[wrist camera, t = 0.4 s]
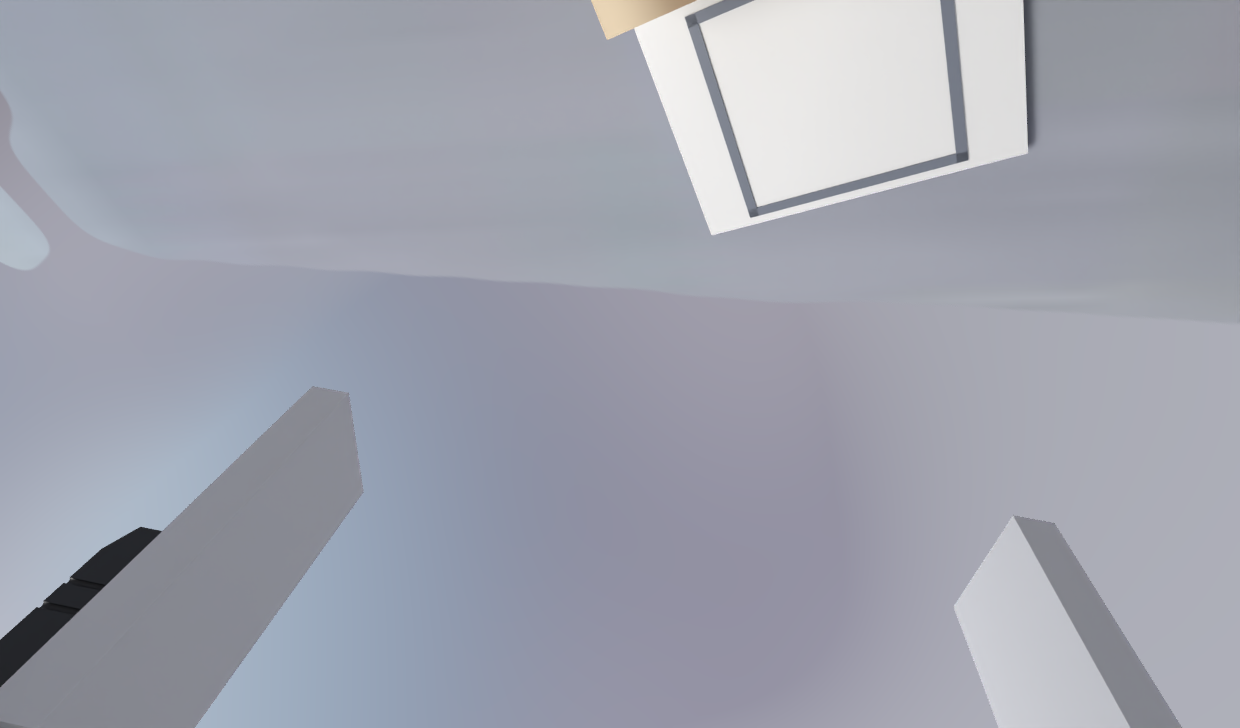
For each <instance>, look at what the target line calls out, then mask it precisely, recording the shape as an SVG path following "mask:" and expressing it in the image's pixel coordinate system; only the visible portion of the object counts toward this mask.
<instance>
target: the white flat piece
mask: <svg viewBox="0 0 1240 728" xmlns="http://www.w3.org/2000/svg"><path fill="white" fill-rule="evenodd" d="M634 29H635V32H636V35H637V37H638V40H639V43H640V45H641V48H642V51H643V53H644V56H645V59H646V61H647V64H648V67H649V69H650V72H651V75H652V77H653V80H654V83H655V85H656V88H657V91H658V93H659V96H660V99H661V101H662V104H663V107H664V109H665V112H666V115H667V117H668V120H669V123H670V125H671V128H672V131H673V133H674V136H675V139H676V141H677V144H678V147H679V149H680V152H681V155H682V157H683V160H684V163H685V165H686V168H687V171H688V173H689V176H690V179H691V181H692V184H693V187H694V189H695V192H696V195H697V197H698V200H699V203H700V205H701V208H702V211H703V213H704V216H705V219H706V221H707V224H708V227H709V229H710V232H711V235H715V234H719V233H723V232H726V231H730V230H734V229H738V228H742V227H746V226H750V225H753V224H757V223H761V222H765V221H769V220H773V219H777V218H780V217H784V216H788V215H792V214H796V213H800V212H804V211H807V210H811V209H815V208H819V207H823V206H827V205H831V204H834V203H838V202H842V201H846V200H850V199H854V198H858V197H861V196H865V195H869V194H873V193H877V192H881V191H884V190H888V189H892V188H896V187H900V186H904V185H908V184H911V183H915V182H919V181H923V180H927V179H931V178H935V177H938V176H942V175H946V174H950V173H954V172H958V171H962V170H965V169H969V168H973V167H977V166H981V165H985V164H989V163H992V162H996V161H1000V160H1004V159H1008V158H1012V157H1015V156H1019V155H1023V154H1027V153H1028V138H1027V106H1026V74H1025V43H1024V11H1023V0H697V1H694V2H692V3H690V4H688V5H685V6H683V7H681V8H679V9H676V10H674V11H672V12H669V13H667V14H665V15H663V16H660V17H658V18H656V19H654V20H651V21H649V22H647V23H645V24H642V25H640V26H638V27H635V28H634Z"/></svg>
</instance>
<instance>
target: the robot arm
mask: <svg viewBox="0 0 1240 728" xmlns="http://www.w3.org/2000/svg"><path fill="white" fill-rule="evenodd" d="M362 494H363V485H362V479H361V472H360V465H359V459H358V452H357V446H356V438H355V432H354V425H353V418H352V411H351V405H350V398H349V393H346V392H341V391H335V390H330V389H325V388H319V387H314V386H313V387H311V389H309V390H308V391H307V392H306V393H305V394H304V395H303V396H302V397H301V398H300V399H299V400H298V401H297V402H296V403H295V404H294V405H293V406H292V407H291V408H290V409H289V410H287V411H286V412H285V413H284V414H283V415H282V416H281V417H280V418H279V419H278V420H277V421H276V422H275V423H274V424H273V425H272V426H271V427H270V428H269V429H268V430H267V431H266V432H265V433H264V434H263V435H262V436H261V437H260V438H258V439H257V441H255V442H254V443H253V444H252V445H251V446H250V447H249V448H248V449H247V450H246V451H245V452H244V453H243V454H242V455H241V456H240V457H239V458H238V459H237V460H236V461H235V462H234V463H233V464H231V465H230V466H229V467H228V469H226V470H225V471H224V472H223V473H222V474H221V475H220V476H219V477H218V478H217V479H216V480H215V481H214V482H213V483H212V484H211V485H210V486H209V487H208V488H207V489H206V490H204V491H203V492H202V494H200V495H199V496H198V497H197V498H196V499H195V500H194V501H193V502H192V503H191V504H190V505H189V506H188V507H187V508H186V509H185V510H184V511H183V512H182V513H181V514H180V515H179V516H178V517H177V518H176V519H175V520H173V521H172V522H171V523H170V524H169V525H168V526H167V527H166V528H165V529H164V530H163V531H158V530H153V529H148V528H144V527H140V528H138V529H136V530H134V531H132V532H131V533H129V534H127V535H125V536H124V537H122V538H120V539H118V540H116V541H115V542H113V543H111V544H109V545H108V546H106V547H104V548H102V549H101V550H100V551H99V552H98V553H96V555H94V556H93V557H92V558H91V559H90V560H89V561H88V562H86V563H85V564H84V565H83V566H82V567H81V568H80V569H79V570H78V571H76V572H75V573H74V574H73V575H72V576H71V577H70V581H69V582H68V583H66V584H65V583H63V584H62V585H61V586H60V587H59V588H57V589H56V590H55V591H54V592H53V593H52V594H51V595H50V596H49V597H48V598H46V599H45V600H44V603H43V605H42V606H41V607H40V608H38V607H36V608H35V609H34V610H33V611H32V612H31V613H30V614H29V615H27V616H26V618H24V619H23V620H22V621H21V622H20V623H19V624H18V625H16V626H15V627H14V628H13V629H12V630H11V631H10V632H9V633H7V634H6V635H5V636H4V637H3V638H2V639H1V640H0V728H195V727H196V725H197V724H198V722H199V721H200V720H201V718H202V717H203V715H204V714H205V713H206V711H207V710H208V708H209V707H210V706H211V704H212V703H213V702H214V700H215V699H216V697H217V696H218V695H219V693H220V692H221V690H222V689H223V688H224V686H225V685H226V683H227V682H228V680H229V679H230V678H231V676H232V675H233V673H234V672H235V671H236V669H237V668H238V667H239V665H240V664H241V662H242V661H243V659H244V658H245V657H246V655H247V654H248V653H249V651H250V650H251V648H252V647H253V646H254V644H255V643H256V642H257V640H258V639H259V637H260V636H261V635H262V633H263V632H264V630H265V629H266V628H267V626H268V625H269V623H270V622H271V620H272V619H273V618H274V616H275V615H276V614H277V612H278V611H279V609H280V608H281V607H282V605H283V603H284V602H285V601H286V600H287V598H288V597H289V595H290V594H291V593H292V591H293V590H294V588H295V587H296V586H297V584H298V583H299V582H300V580H301V579H302V577H303V576H304V575H305V573H306V572H307V570H308V569H309V568H310V566H311V565H312V563H313V562H314V561H315V559H316V558H317V556H318V555H319V554H320V552H321V551H322V549H323V548H324V547H325V545H326V544H327V542H328V541H329V540H330V538H331V537H332V535H333V534H334V533H335V531H336V530H337V529H338V527H339V526H340V524H341V523H342V521H343V520H344V519H345V517H346V516H347V515H348V513H349V512H350V510H351V509H352V508H353V506H354V505H355V503H356V502H357V500H358V499H359V498H360V496H361V495H362ZM954 609H955V612H956V615H957V617H958V620H959V623H960V625H961V628H962V631H963V633H964V636H965V638H966V641H967V644H968V647H969V649H970V652H971V655H972V657H973V660H974V663H975V665H976V668H977V671H978V673H979V676H980V678H981V681H982V684H983V687H984V689H985V692H986V695H987V697H988V700H989V703H990V705H991V708H992V710H993V713H994V716H995V719H996V721H997V724H998V727H999V728H1182V727H1181V725H1180V724H1179V722H1178V720H1177V719H1176V717H1175V716H1174V714H1173V713H1172V711H1171V709H1170V708H1169V706H1168V704H1167V703H1166V701H1165V700H1164V698H1163V697H1162V695H1161V693H1160V692H1159V690H1158V688H1157V687H1156V685H1155V684H1154V682H1153V680H1152V679H1151V677H1150V676H1149V674H1148V672H1147V671H1146V669H1145V668H1144V666H1143V664H1142V663H1141V661H1140V660H1139V658H1138V656H1137V655H1136V653H1135V651H1134V650H1133V648H1132V647H1131V645H1130V643H1129V642H1128V640H1127V639H1126V637H1125V635H1124V634H1123V632H1122V631H1121V629H1120V628H1119V626H1118V624H1117V623H1116V621H1115V619H1114V618H1113V616H1112V615H1111V613H1110V611H1109V610H1108V608H1107V607H1106V605H1105V603H1104V602H1103V600H1102V599H1101V597H1100V595H1099V594H1098V592H1097V591H1096V589H1095V587H1094V586H1093V584H1092V583H1091V581H1090V580H1089V578H1088V576H1087V574H1086V573H1085V571H1084V570H1083V568H1082V566H1081V565H1080V563H1079V562H1078V560H1077V559H1076V557H1075V555H1074V554H1073V552H1072V550H1071V549H1070V547H1069V546H1068V544H1067V543H1066V541H1065V539H1064V538H1063V536H1062V534H1061V533H1060V531H1059V530H1058V528H1057V527H1056V525H1055V523H1051V522H1046V521H1040V520H1035V519H1029V518H1024V517H1018V516H1012V518H1011V520H1010V521H1009V522H1008V524H1007V526H1006V527H1005V529H1004V530H1003V532H1002V533H1001V535H1000V536H999V538H998V539H997V541H996V542H995V544H994V545H993V547H992V549H991V550H990V552H989V553H988V555H987V556H986V558H985V559H984V561H983V562H982V564H981V565H980V567H979V569H978V570H977V572H976V573H975V575H974V576H973V578H972V579H971V581H970V582H969V584H968V585H967V587H966V589H965V590H964V592H963V593H962V595H961V596H960V598H959V599H958V601H957V602H956V604H955V605H954Z"/></svg>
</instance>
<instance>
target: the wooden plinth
mask: <svg viewBox="0 0 1240 728" xmlns="http://www.w3.org/2000/svg"><path fill="white" fill-rule="evenodd" d="M591 1H592V4H593V6H594V8H595V11H596V13H597V16H598V18H599V21H600V23H601V26H602V28H603V31H604V33H605V36H606V38H607V40H608V39H610V38H613V37H615V36H617V35H620V34H622V33H624V32H626V31H629V30H631V29H633V28H635V27H638V26H640V25H642V24H645V23H647V22H649V21H651V20H654V19H656V18H658V17H660V16H663V15H665V14H667V13H669V12H672V11H674V10H676V9H679V8H681V7H683V6H685V5H688V4H690V3H692V2H694V1H697V0H591Z"/></svg>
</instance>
